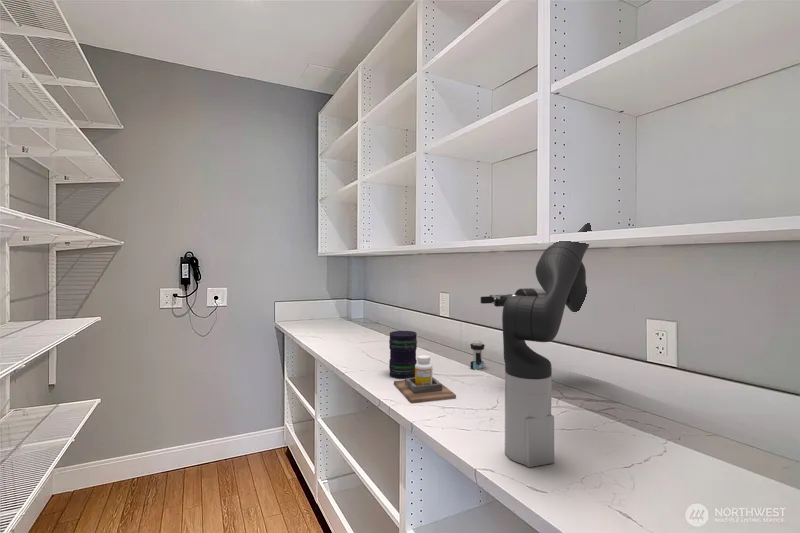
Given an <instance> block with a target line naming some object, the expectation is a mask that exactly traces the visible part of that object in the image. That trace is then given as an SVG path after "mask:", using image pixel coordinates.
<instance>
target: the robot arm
mask: <svg viewBox="0 0 800 533" xmlns="http://www.w3.org/2000/svg"><path fill="white" fill-rule="evenodd" d="M587 231H592V230H591V225H590V223H587V224H585V225H584V226H583V227H582V228H581V229H580V230H579V231H578V232H587ZM589 246H590V245H589V244H586V243H579V242H571V241H559V242H556V243H552V244H551V245H549V246H548V247H547V248H546V249H545V250H543V253H542V255H541V256H540V258H539V260H538V261H537V263H536V266H535V276H536V279H537V282H538V284H539V285H540V287H541V288H539V287H536V288H535V287H532V288H531V287H530V288H528V287H527V288H526V287H525V288H518V289H517V290H516V291H515V293H514V294H513V293H507V294H489V295H488V296H480V304H483V305H484V304H491V305H493V306H494V307H502V316H501V317H502V318H501V319H502V320H501V321H502V324H501V325H502V327H501V328H502V339H503V360H504V454H505V455H506V457H507V458H508V459H510V460H512V461H513V462H515V463H518V464H522V465H524V466H526V467H527V468H532V467H537V466H544V465H548V464H549V465H550V464H554V463H555V416H554V415H553V414H552V381H553V380H552V373H553V369H552V362H551V361H550V359H548V358H547V357H545V356H544V355H541V354H539V353H537V352H536V351H534V350H533V349H532V348H530V347H529V346H528V345H527V343H526V341H528V342H534V343H535V342H536V343H551V342H552V341H553V340H554V339H555V338H556V337H557V335H558V333H559V330H560V326H561V323H562V320H563V317H564V316H563V315H564V312H565V308H566V307H567V308H568V309H569V311H571V312H572V313H573V312H577V311H579V310H580V308H581V306H582V304H583V302H584V300H585V297H586V294H587V288H588V286H587V283H586V282H587V277H586V276H587V273H586V272H587V270H586V267H585V265H584V263H583V258H584V256H585V254H586V252H587V250H588V248H589Z"/></svg>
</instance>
